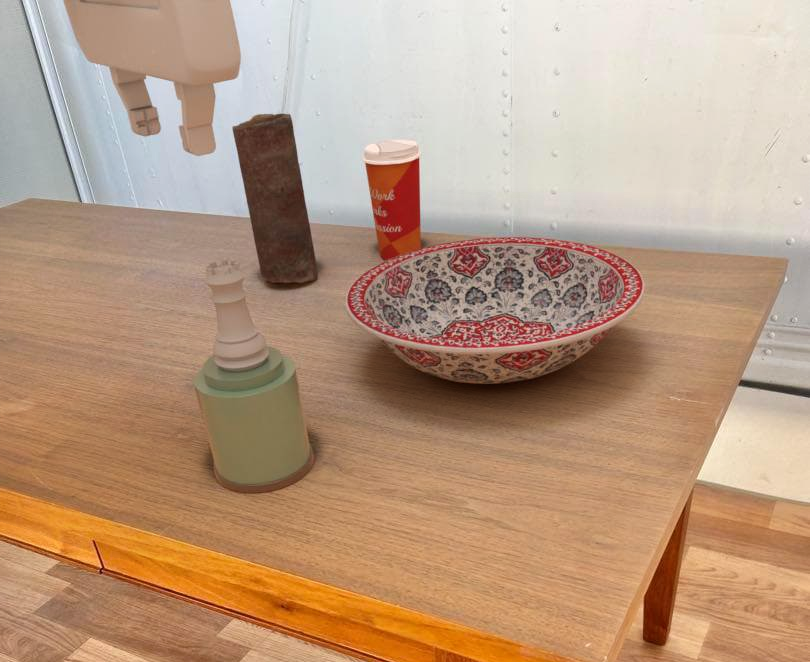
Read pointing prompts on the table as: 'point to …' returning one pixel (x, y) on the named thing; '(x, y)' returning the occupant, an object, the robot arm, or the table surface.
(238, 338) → the rook chess piece
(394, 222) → the paper cup
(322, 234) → the table surface
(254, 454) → the upturned tumbler
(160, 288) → the table surface
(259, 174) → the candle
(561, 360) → the ceramic bowl
